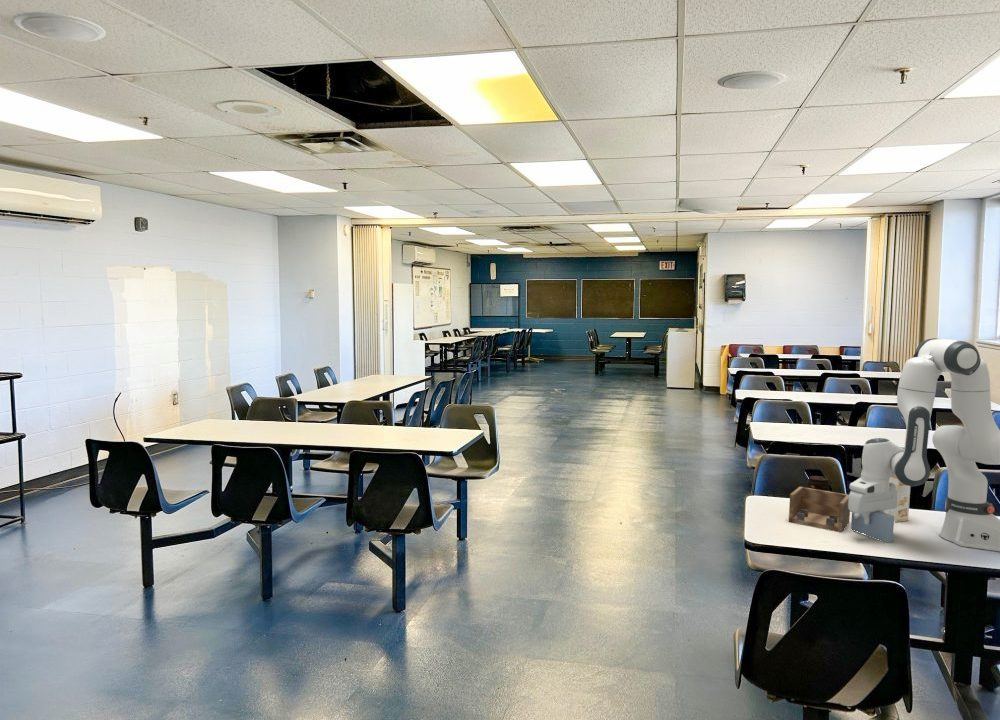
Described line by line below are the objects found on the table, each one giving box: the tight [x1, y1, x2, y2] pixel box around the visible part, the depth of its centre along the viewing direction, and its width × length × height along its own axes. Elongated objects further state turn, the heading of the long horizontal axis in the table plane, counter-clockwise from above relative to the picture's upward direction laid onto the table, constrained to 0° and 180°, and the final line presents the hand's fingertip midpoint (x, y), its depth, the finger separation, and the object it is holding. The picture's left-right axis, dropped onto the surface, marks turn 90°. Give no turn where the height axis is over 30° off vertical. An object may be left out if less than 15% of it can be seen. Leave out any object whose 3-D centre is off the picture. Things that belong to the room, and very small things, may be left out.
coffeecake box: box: [884, 475, 911, 523], centre depth 262 cm, size 15×7×20 cm, turn 22°
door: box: [850, 511, 895, 544], centre depth 239 cm, size 14×4×9 cm, turn 23°
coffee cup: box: [806, 475, 832, 492], centre depth 268 cm, size 9×8×13 cm
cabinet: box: [788, 486, 851, 533], centre depth 253 cm, size 18×14×10 cm
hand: (872, 523), depth 239 cm, fingers closed on door, 3 cm apart
